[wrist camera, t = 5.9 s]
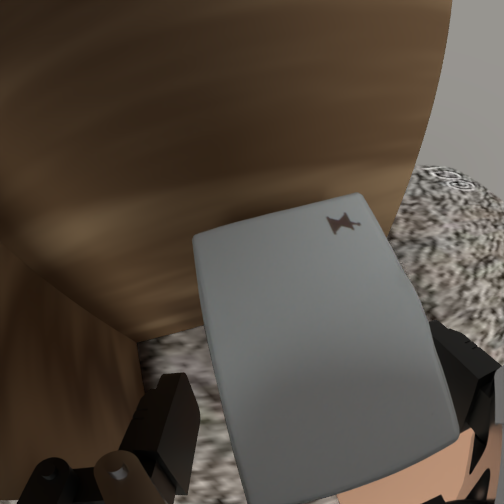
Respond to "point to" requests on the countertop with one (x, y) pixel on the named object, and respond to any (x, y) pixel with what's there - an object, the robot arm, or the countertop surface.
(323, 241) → the skincare box
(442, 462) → the terracotta tile
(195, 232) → the walnut cubby
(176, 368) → the countertop surface
